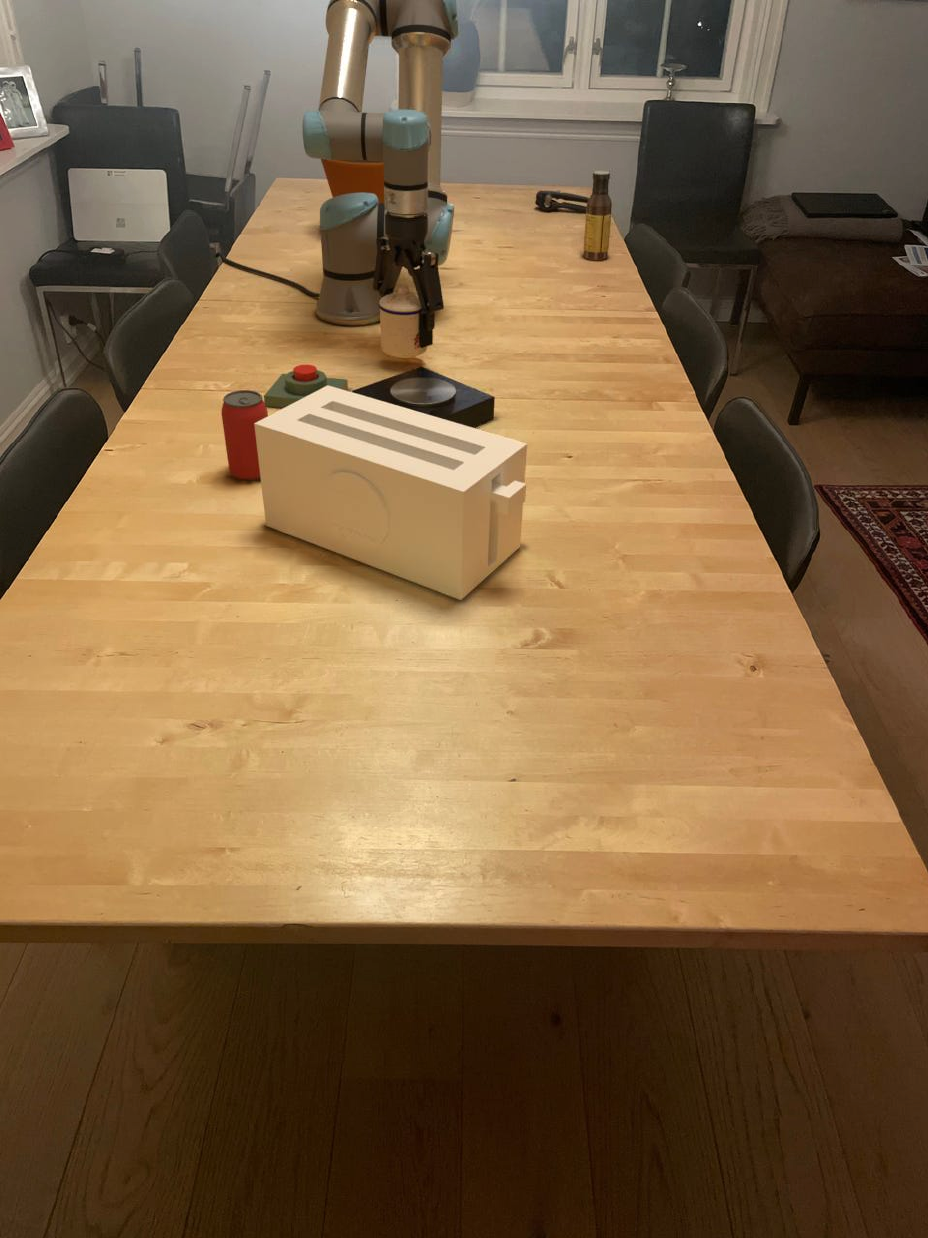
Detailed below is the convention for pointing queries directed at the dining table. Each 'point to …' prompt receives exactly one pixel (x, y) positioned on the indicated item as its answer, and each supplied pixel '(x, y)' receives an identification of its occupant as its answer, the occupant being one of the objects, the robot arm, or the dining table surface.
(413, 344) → the teacup with lid
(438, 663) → the dining table surface
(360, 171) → the flower pot
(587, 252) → the sauce bottle
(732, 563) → the dining table surface
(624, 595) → the dining table surface
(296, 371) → the button
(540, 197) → the can opener
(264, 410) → the beer can
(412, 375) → the cup warmer
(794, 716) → the dining table surface
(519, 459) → the toaster
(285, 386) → the box
